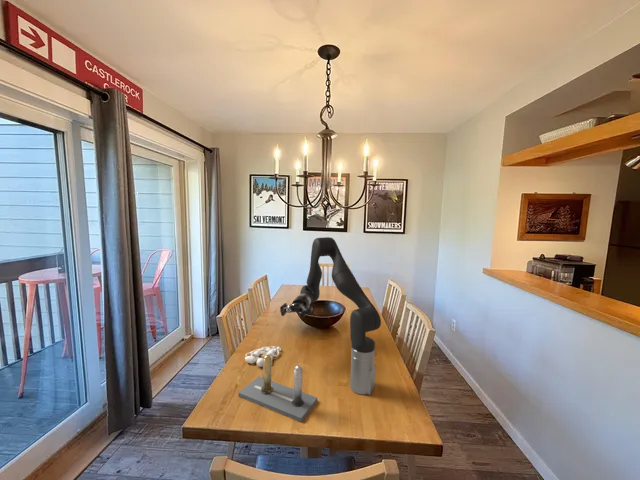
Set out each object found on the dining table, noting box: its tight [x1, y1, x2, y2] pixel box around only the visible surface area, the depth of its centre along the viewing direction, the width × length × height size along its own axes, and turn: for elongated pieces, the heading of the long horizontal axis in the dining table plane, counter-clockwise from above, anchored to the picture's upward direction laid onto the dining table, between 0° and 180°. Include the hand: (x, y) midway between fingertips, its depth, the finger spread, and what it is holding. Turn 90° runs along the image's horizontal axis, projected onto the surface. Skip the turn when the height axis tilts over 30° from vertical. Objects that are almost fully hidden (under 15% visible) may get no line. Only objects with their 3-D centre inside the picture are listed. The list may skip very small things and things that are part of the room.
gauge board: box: [237, 376, 319, 423], centre depth 108 cm, size 28×12×2 cm, turn 63°
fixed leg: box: [293, 365, 303, 405], centre depth 103 cm, size 3×3×14 cm
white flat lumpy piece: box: [244, 346, 282, 368], centre depth 138 cm, size 19×14×4 cm
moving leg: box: [261, 354, 273, 393], centre depth 109 cm, size 4×3×14 cm
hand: (291, 314), depth 124 cm, fingers open, 8 cm apart
